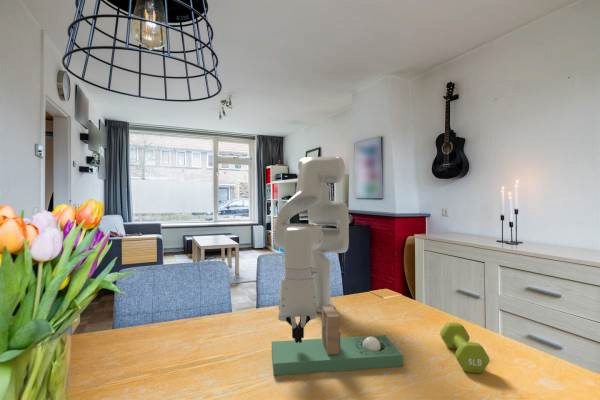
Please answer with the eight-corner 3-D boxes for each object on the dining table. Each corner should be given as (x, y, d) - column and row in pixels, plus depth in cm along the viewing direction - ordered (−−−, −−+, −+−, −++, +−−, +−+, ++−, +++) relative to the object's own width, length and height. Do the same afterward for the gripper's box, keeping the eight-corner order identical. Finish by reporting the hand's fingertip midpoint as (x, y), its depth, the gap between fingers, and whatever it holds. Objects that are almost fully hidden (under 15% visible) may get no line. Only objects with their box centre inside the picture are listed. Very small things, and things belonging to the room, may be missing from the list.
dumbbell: (491, 376, 79) (491, 348, 79) (457, 374, 80) (458, 345, 80) (466, 345, 96) (466, 321, 95) (438, 343, 97) (438, 320, 97)
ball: (365, 354, 91) (356, 340, 91) (379, 344, 92) (370, 330, 91) (371, 363, 86) (362, 348, 86) (386, 352, 87) (377, 337, 86)
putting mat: (271, 351, 91) (271, 341, 91) (385, 344, 96) (385, 334, 96) (273, 375, 79) (273, 363, 79) (403, 366, 84) (403, 354, 84)
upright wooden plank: (321, 340, 91) (321, 306, 91) (333, 340, 92) (333, 305, 91) (327, 354, 83) (327, 316, 83) (340, 353, 84) (340, 316, 83)
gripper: (322, 268, 91) (322, 332, 91) (269, 270, 88) (269, 336, 89) (328, 275, 83) (328, 345, 83) (270, 277, 81) (270, 349, 81)
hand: (297, 340), depth 86 cm, fingers closed
